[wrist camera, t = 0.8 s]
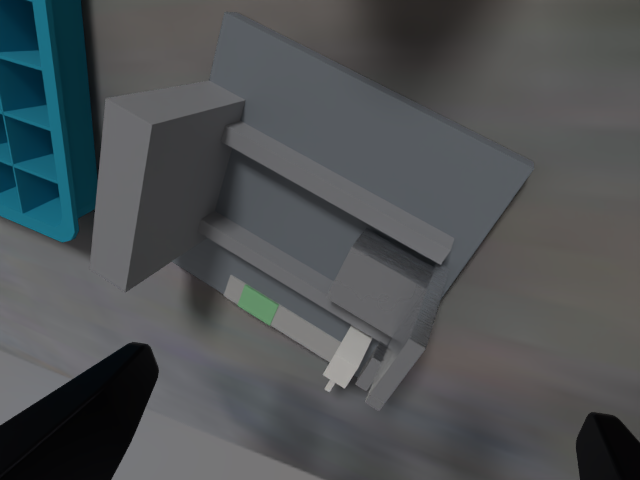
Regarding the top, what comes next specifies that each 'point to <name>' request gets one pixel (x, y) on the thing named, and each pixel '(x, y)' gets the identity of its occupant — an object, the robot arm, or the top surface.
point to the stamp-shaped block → (347, 358)
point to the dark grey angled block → (389, 307)
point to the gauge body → (288, 182)
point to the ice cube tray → (45, 117)
